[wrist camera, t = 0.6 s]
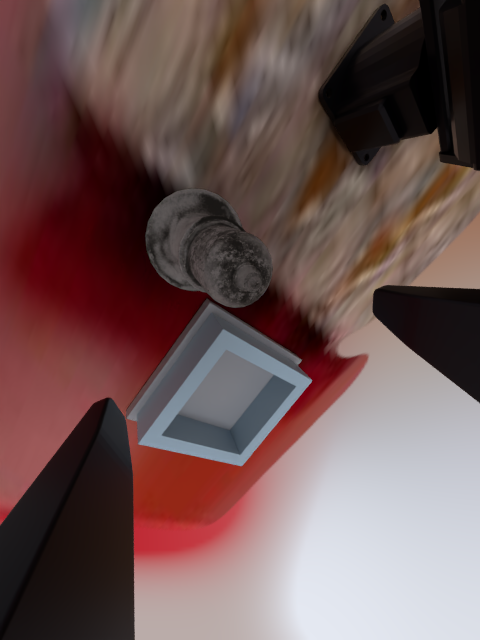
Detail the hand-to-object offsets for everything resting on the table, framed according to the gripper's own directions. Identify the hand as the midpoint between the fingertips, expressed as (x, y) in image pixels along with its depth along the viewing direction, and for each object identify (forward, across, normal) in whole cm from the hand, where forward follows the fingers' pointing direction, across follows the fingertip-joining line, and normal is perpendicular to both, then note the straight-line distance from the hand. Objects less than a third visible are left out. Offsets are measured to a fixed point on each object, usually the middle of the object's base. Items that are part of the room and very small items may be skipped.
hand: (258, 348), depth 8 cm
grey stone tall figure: (+13, 0, -2) cm, 13 cm away
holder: (+13, +1, +12) cm, 17 cm away
